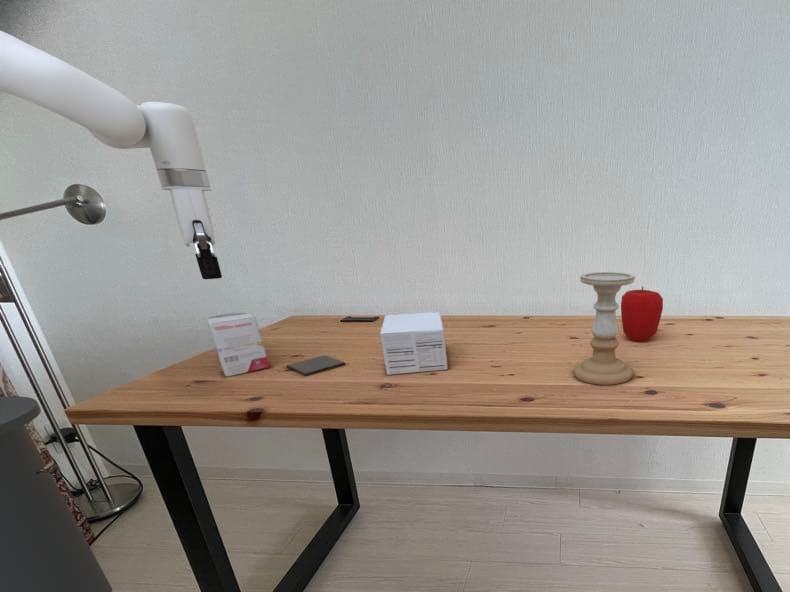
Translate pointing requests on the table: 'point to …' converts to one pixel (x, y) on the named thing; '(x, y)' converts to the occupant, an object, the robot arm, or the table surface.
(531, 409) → the table surface
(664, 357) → the table surface
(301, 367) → the coaster
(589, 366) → the candle holder
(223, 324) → the ink box
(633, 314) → the apple
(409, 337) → the supplement box
